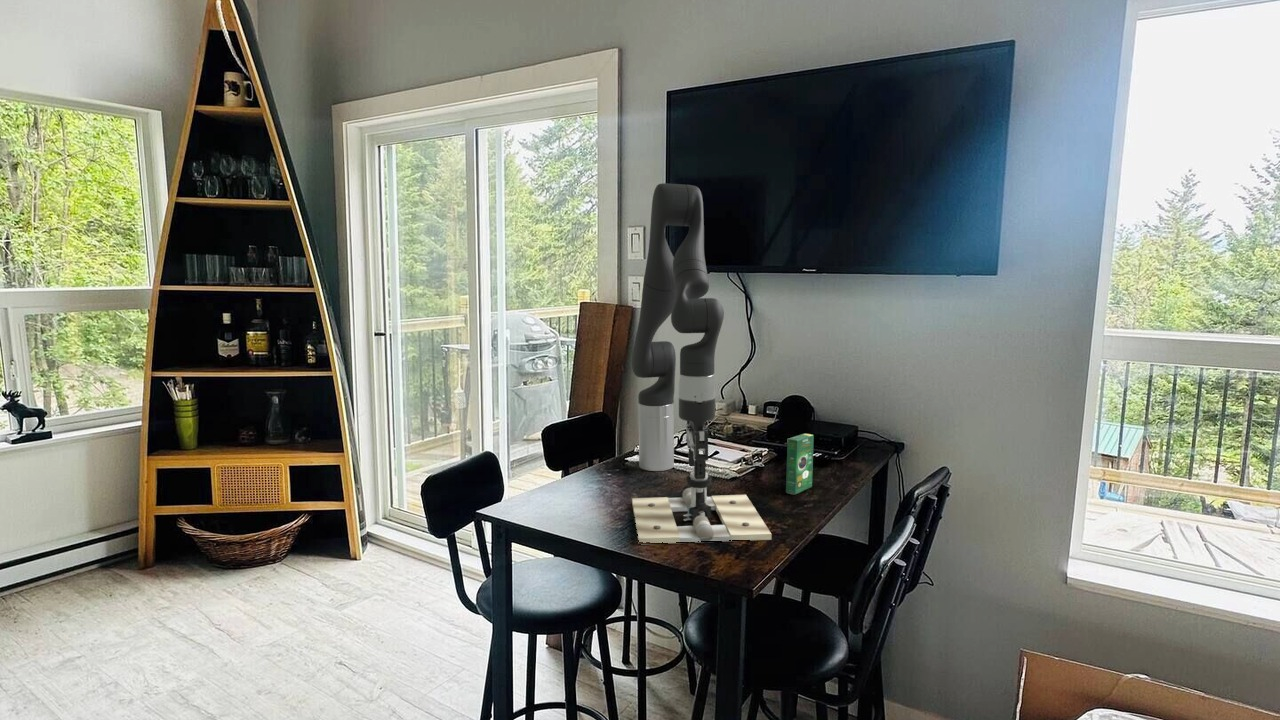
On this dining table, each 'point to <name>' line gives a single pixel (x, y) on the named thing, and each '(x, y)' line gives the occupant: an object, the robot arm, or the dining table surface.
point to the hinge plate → (698, 520)
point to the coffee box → (799, 463)
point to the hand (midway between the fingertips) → (696, 471)
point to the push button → (698, 496)
